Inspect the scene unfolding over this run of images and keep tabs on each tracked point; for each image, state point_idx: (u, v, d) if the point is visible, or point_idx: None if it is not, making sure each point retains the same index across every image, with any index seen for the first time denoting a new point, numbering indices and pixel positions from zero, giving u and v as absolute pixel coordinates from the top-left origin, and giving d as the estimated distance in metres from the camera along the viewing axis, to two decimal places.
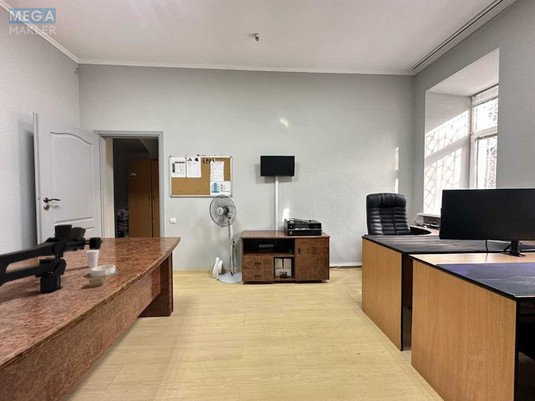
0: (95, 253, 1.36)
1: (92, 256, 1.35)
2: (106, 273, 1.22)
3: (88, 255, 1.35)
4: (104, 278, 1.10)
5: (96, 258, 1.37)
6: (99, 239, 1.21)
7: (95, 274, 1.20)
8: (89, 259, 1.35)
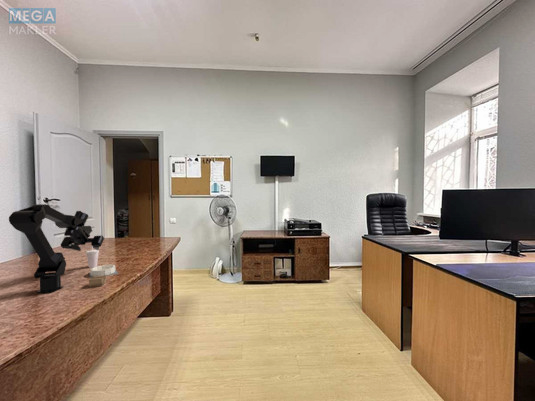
0: (95, 253, 1.36)
1: (92, 256, 1.35)
2: (106, 273, 1.22)
3: (88, 255, 1.35)
4: (104, 278, 1.10)
5: (96, 258, 1.37)
6: (103, 237, 1.31)
7: (95, 274, 1.20)
8: (89, 259, 1.35)
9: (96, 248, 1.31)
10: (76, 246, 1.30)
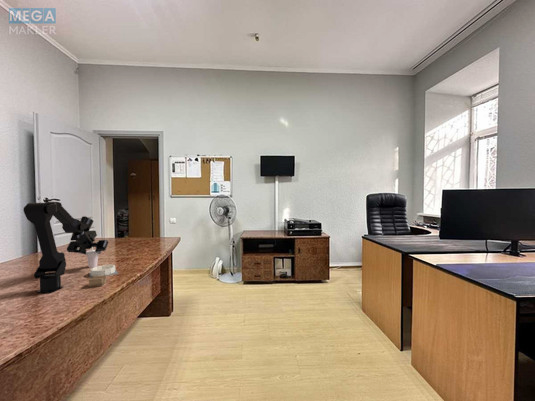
0: (95, 253, 1.36)
1: (92, 256, 1.35)
2: (106, 273, 1.22)
3: (88, 255, 1.35)
4: (104, 278, 1.10)
5: (96, 258, 1.37)
6: (107, 242, 1.36)
7: (95, 274, 1.20)
8: (89, 259, 1.35)
9: (98, 252, 1.35)
10: (84, 250, 1.35)
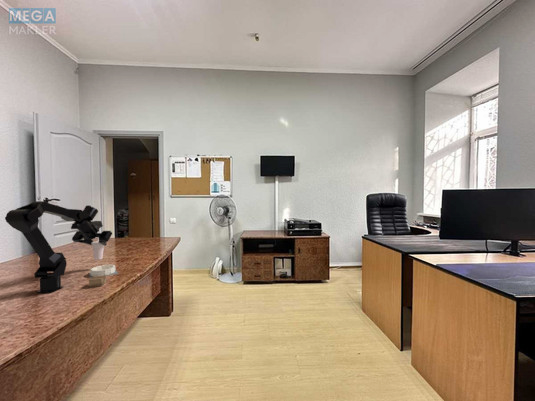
0: (100, 244, 1.32)
1: (97, 247, 1.31)
2: (106, 273, 1.22)
3: (93, 246, 1.31)
4: (104, 278, 1.10)
5: (101, 249, 1.33)
6: (111, 233, 1.31)
7: (95, 274, 1.20)
8: (94, 250, 1.32)
9: (102, 243, 1.31)
10: (90, 241, 1.32)
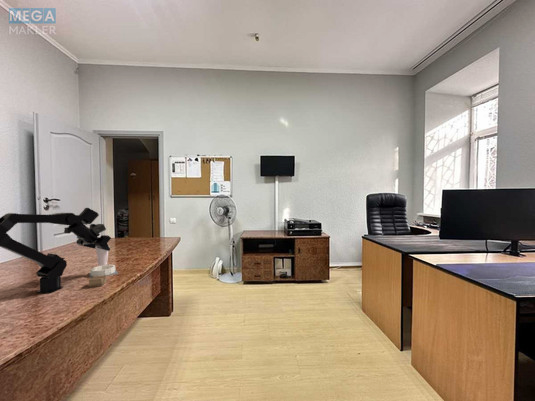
0: (102, 249, 1.23)
1: (99, 252, 1.23)
2: (106, 273, 1.22)
3: (96, 251, 1.23)
4: (104, 278, 1.10)
5: (104, 255, 1.24)
6: (108, 238, 1.19)
7: (95, 274, 1.20)
8: (97, 255, 1.23)
9: None
10: (94, 244, 1.25)
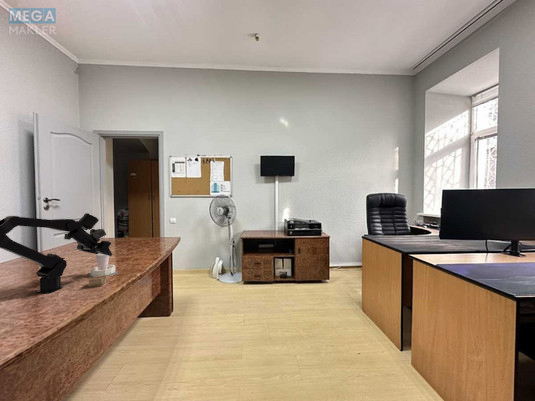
0: (102, 257, 1.23)
1: (99, 260, 1.23)
2: (106, 273, 1.22)
3: (96, 258, 1.24)
4: (104, 278, 1.10)
5: (104, 262, 1.24)
6: (109, 243, 1.19)
7: (95, 274, 1.20)
8: (97, 263, 1.24)
9: (104, 254, 1.20)
10: (93, 249, 1.26)
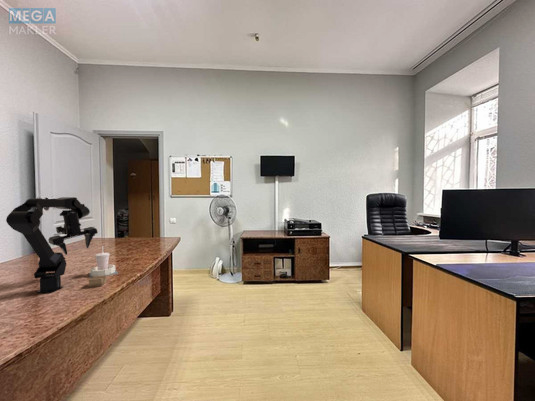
0: (102, 257, 1.23)
1: (99, 260, 1.23)
2: (106, 273, 1.22)
3: (96, 258, 1.23)
4: (104, 278, 1.10)
5: (104, 263, 1.24)
6: None
7: (95, 274, 1.20)
8: (97, 263, 1.24)
9: (90, 240, 1.25)
10: None
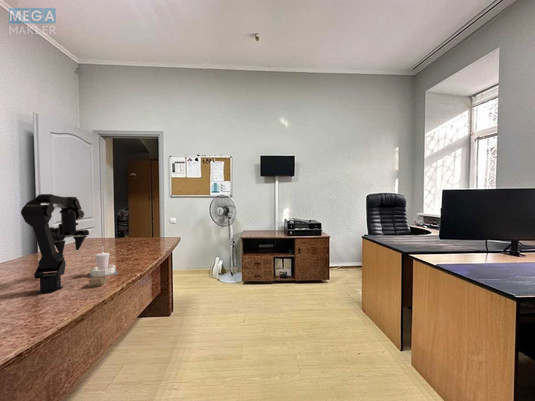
0: (102, 257, 1.23)
1: (99, 260, 1.23)
2: (106, 273, 1.22)
3: (96, 258, 1.23)
4: (104, 278, 1.10)
5: (104, 263, 1.24)
6: None
7: (95, 274, 1.20)
8: (97, 263, 1.24)
9: None
10: None
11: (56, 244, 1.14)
